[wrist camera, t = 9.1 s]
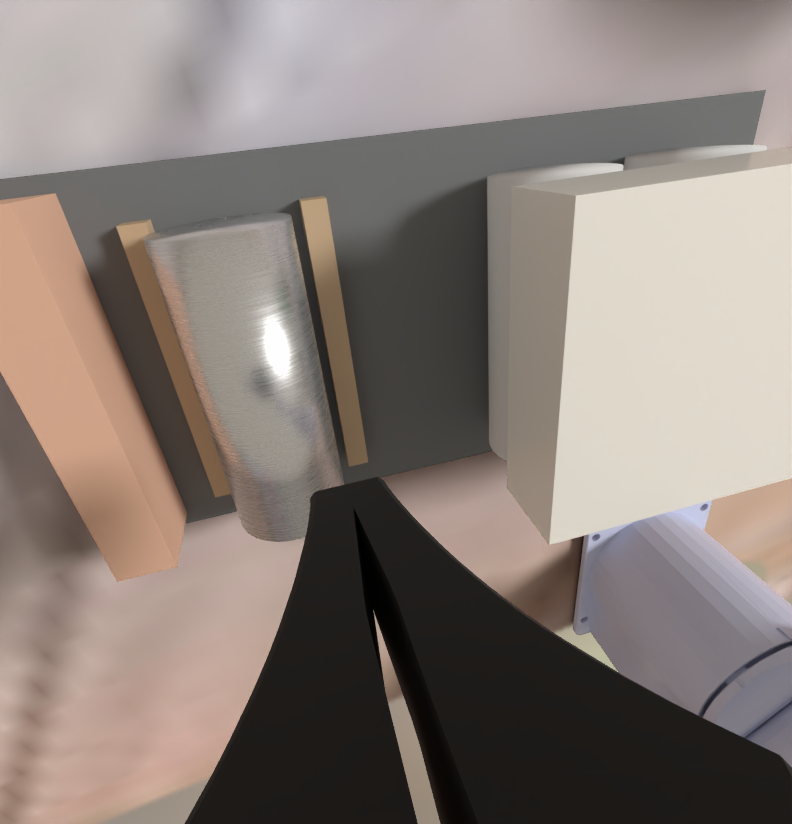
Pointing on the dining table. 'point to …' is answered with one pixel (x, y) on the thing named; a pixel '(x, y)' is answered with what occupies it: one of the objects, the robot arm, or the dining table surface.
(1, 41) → the dining table surface
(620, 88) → the dining table surface
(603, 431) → the slab
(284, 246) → the roller
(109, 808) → the dining table surface
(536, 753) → the robot arm
